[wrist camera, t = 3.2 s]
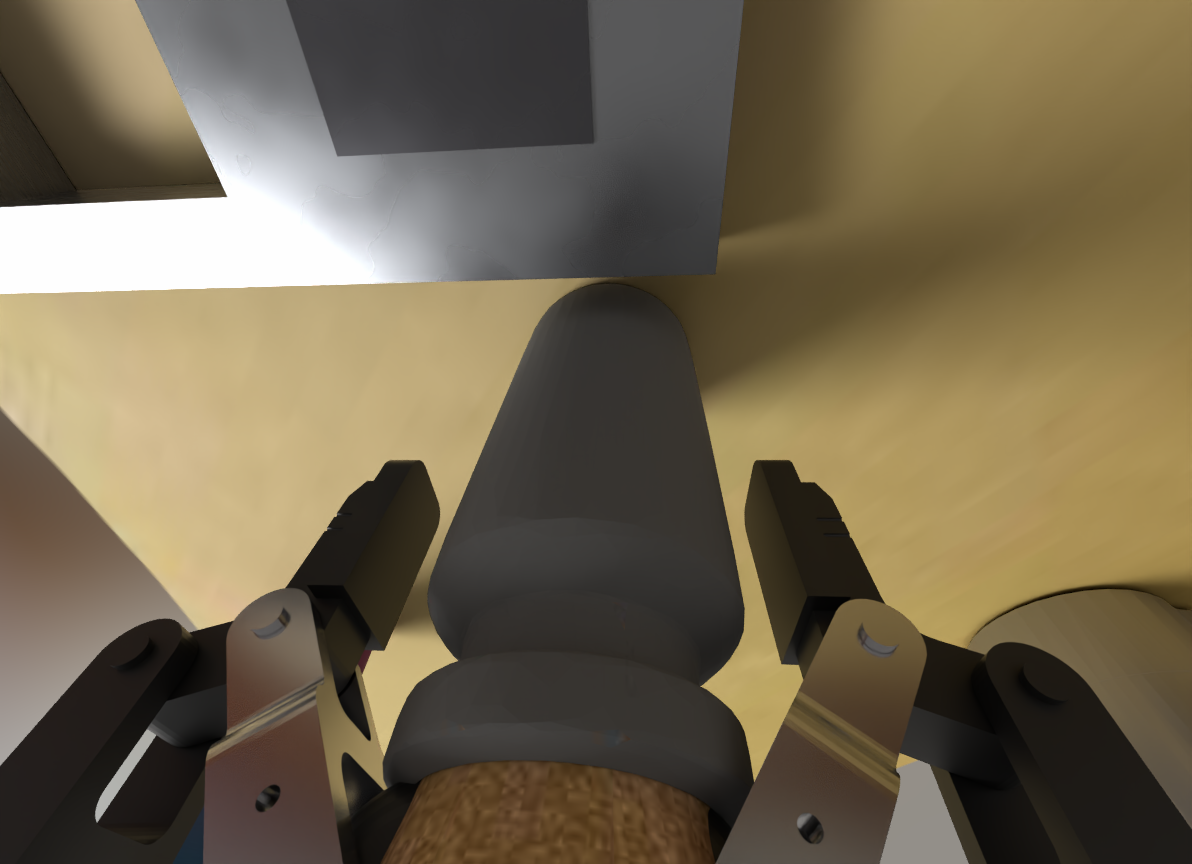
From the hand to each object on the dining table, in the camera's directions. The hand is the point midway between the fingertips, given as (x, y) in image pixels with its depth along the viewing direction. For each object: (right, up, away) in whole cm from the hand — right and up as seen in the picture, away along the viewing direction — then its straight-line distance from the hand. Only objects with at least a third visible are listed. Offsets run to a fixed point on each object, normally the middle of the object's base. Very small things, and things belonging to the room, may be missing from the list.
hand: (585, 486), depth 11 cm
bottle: (+1, +4, +6) cm, 7 cm away
